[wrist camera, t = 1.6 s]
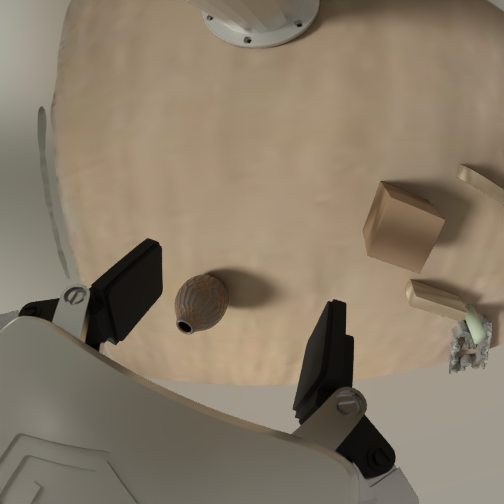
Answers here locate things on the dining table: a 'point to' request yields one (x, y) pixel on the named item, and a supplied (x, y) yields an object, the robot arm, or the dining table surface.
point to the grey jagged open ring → (469, 346)
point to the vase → (200, 304)
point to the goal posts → (474, 324)
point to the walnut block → (401, 228)
